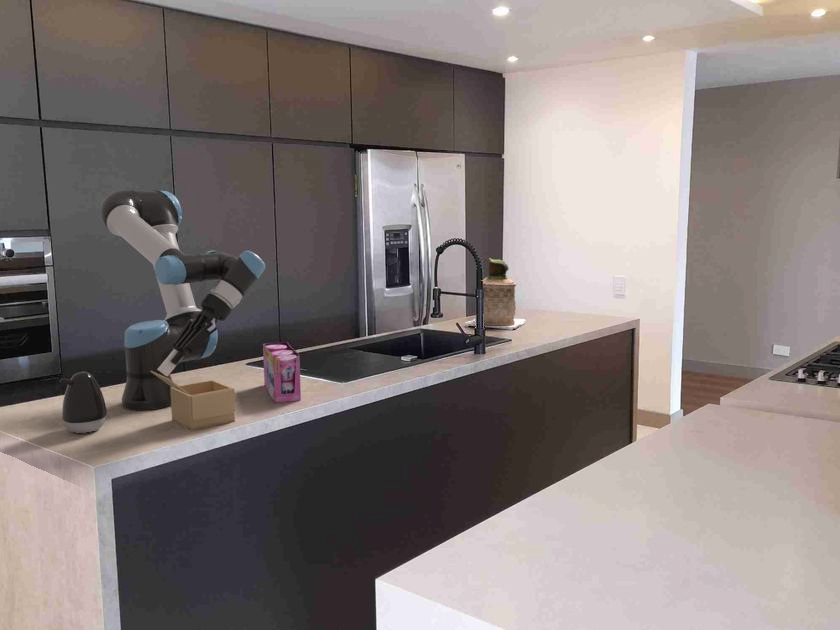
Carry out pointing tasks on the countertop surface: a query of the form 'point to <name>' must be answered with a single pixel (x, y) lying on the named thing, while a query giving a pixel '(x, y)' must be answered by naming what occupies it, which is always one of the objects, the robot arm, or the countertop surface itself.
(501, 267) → the cookie jar
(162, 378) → the front flap
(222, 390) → the carton
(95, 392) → the pump dispenser
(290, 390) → the gum box
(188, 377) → the countertop surface
